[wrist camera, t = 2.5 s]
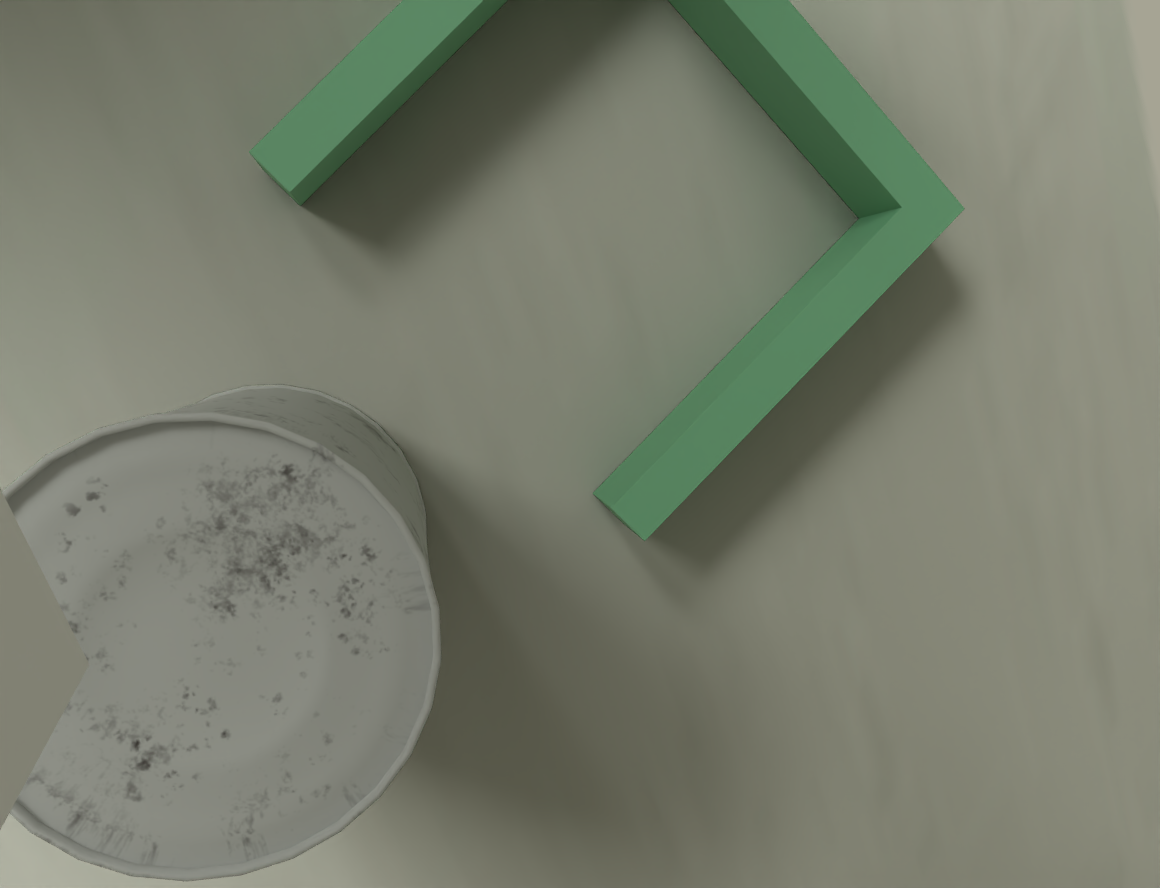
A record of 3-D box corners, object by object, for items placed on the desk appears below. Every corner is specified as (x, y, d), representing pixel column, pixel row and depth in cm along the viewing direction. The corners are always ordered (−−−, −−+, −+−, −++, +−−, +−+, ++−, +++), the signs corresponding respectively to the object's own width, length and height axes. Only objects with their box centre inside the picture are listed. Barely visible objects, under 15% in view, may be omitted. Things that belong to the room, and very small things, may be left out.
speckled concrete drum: (470, 611, 33) (510, 764, 21) (190, 727, 32) (64, 960, 20) (360, 339, 32) (335, 339, 20) (62, 450, 31) (-158, 523, 19)
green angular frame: (169, 77, 30) (-25, -142, 16) (509, -254, 31) (595, -729, 17) (623, 523, 34) (774, 648, 20) (916, 220, 35) (1254, 141, 21)
